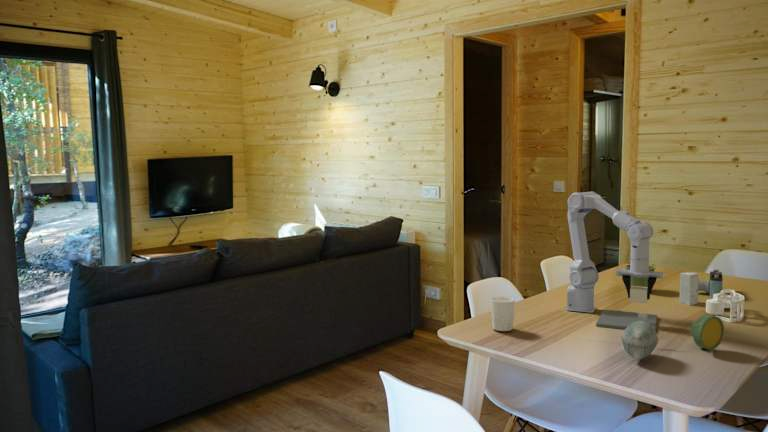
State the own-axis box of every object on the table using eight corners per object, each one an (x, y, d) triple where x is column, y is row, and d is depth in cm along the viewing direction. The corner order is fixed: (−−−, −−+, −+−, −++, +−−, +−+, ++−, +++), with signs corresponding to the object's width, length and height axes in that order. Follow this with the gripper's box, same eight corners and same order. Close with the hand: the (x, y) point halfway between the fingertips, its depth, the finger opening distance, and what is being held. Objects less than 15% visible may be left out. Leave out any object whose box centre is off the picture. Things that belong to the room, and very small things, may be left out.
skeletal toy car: (715, 306, 218) (715, 287, 218) (749, 311, 211) (750, 291, 211) (702, 318, 203) (703, 297, 203) (738, 323, 196) (739, 302, 196)
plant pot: (657, 291, 244) (657, 265, 243) (653, 297, 234) (653, 270, 233) (627, 288, 250) (627, 263, 249) (622, 294, 240) (622, 267, 239)
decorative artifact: (700, 352, 168) (701, 318, 167) (679, 345, 174) (680, 312, 173) (723, 347, 172) (724, 314, 171) (702, 340, 178) (703, 309, 177)
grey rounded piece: (625, 336, 176) (624, 309, 172) (660, 341, 171) (660, 313, 167) (618, 365, 165) (617, 337, 161) (655, 371, 161) (655, 342, 156)
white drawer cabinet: (629, 302, 195) (630, 288, 194) (631, 298, 199) (631, 285, 199) (646, 303, 193) (647, 289, 192) (647, 300, 197) (647, 286, 197)
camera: (695, 290, 246) (695, 267, 245) (721, 292, 241) (721, 268, 240) (694, 298, 231) (695, 274, 230) (722, 301, 227) (723, 276, 226)
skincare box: (689, 306, 219) (691, 275, 218) (678, 304, 222) (679, 273, 221) (698, 304, 222) (699, 273, 221) (687, 302, 226) (688, 271, 225)
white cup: (500, 333, 190) (500, 303, 189) (486, 327, 197) (486, 298, 196) (519, 329, 193) (519, 300, 192) (504, 323, 200) (504, 295, 199)
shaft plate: (596, 326, 195) (596, 314, 195) (603, 312, 213) (603, 301, 213) (654, 332, 187) (655, 320, 187) (657, 317, 205) (657, 305, 204)
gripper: (615, 259, 194) (614, 298, 196) (663, 261, 188) (662, 302, 189) (617, 256, 201) (616, 294, 202) (663, 258, 194) (662, 298, 195)
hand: (638, 298), depth 196 cm, fingers closed on white drawer cabinet, 5 cm apart
